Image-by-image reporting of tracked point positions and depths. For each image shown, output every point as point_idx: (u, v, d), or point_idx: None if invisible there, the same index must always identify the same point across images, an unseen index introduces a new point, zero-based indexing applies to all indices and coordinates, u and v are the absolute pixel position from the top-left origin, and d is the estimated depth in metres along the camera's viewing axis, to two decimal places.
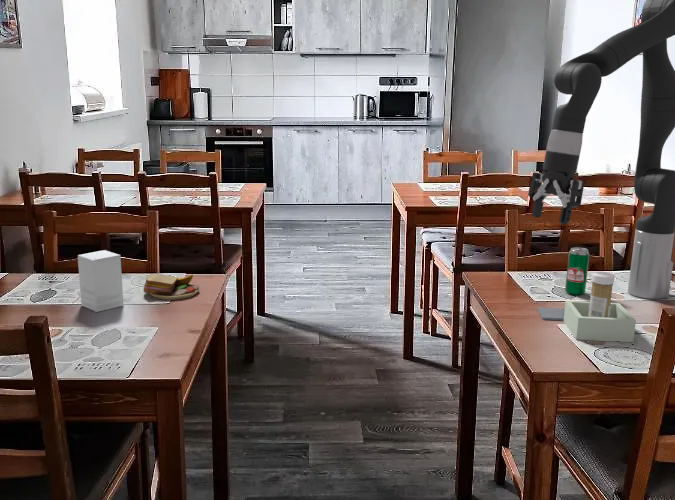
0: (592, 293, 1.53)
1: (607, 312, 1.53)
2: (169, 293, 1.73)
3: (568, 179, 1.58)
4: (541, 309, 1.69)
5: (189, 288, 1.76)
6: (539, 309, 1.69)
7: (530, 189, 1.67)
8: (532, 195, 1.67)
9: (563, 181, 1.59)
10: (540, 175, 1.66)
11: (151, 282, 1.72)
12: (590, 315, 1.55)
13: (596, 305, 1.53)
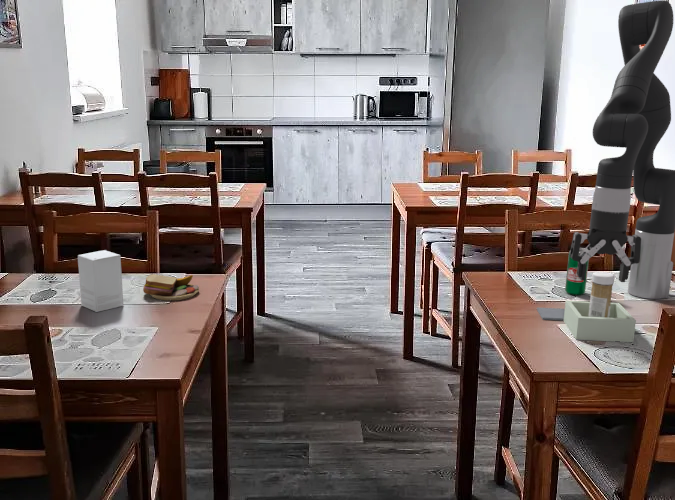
0: (592, 293, 1.53)
1: (607, 312, 1.53)
2: (169, 294, 1.73)
3: (627, 236, 1.50)
4: (541, 309, 1.69)
5: (189, 288, 1.76)
6: (539, 309, 1.69)
7: (575, 252, 1.51)
8: None
9: (622, 239, 1.50)
10: (583, 235, 1.51)
11: (151, 283, 1.72)
12: (590, 315, 1.55)
13: (596, 305, 1.53)
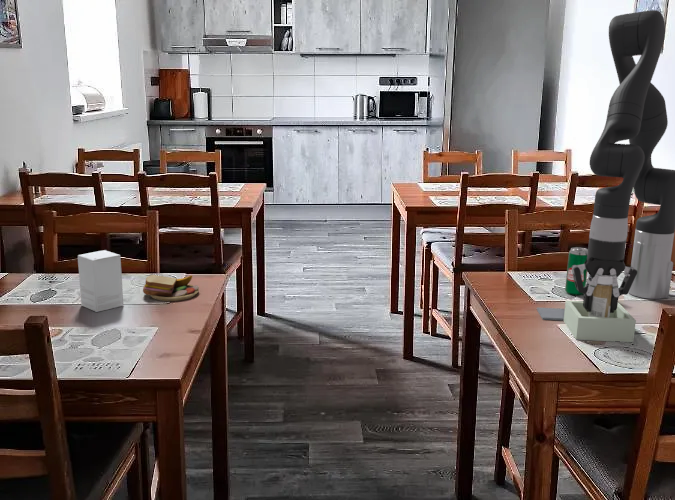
0: (592, 293, 1.53)
1: (607, 312, 1.53)
2: (169, 294, 1.72)
3: (625, 266, 1.51)
4: (541, 309, 1.69)
5: (189, 289, 1.76)
6: (539, 309, 1.69)
7: (579, 285, 1.53)
8: None
9: (619, 267, 1.51)
10: (581, 267, 1.52)
11: (151, 283, 1.71)
12: (590, 315, 1.55)
13: (596, 305, 1.53)
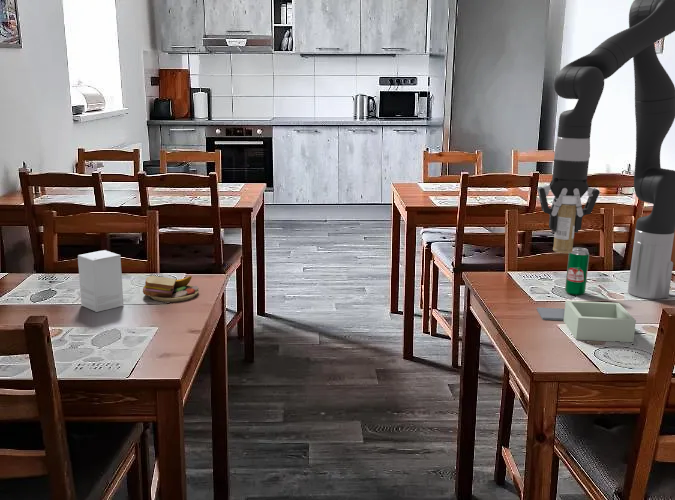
0: (557, 214, 1.60)
1: (571, 231, 1.60)
2: (170, 295, 1.72)
3: None
4: (541, 309, 1.69)
5: (189, 289, 1.75)
6: (539, 309, 1.69)
7: (544, 205, 1.59)
8: (548, 211, 1.60)
9: (582, 187, 1.58)
10: (546, 188, 1.59)
11: (151, 284, 1.71)
12: (555, 235, 1.61)
13: (561, 225, 1.59)
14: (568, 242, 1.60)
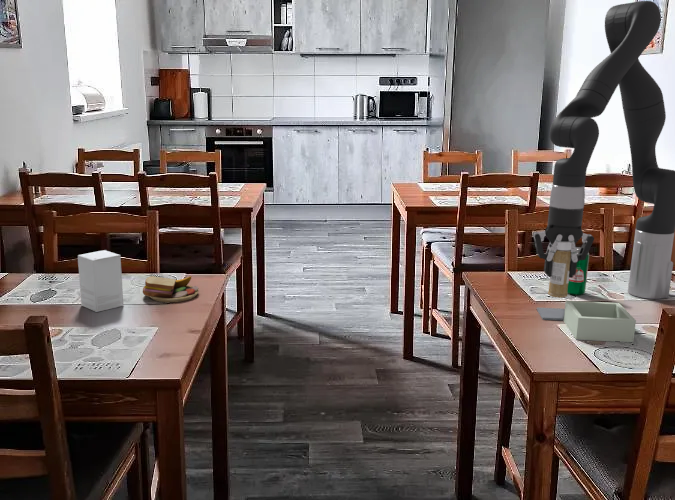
0: (552, 259, 1.63)
1: (566, 277, 1.62)
2: (170, 295, 1.71)
3: (582, 233, 1.60)
4: (541, 309, 1.69)
5: (189, 290, 1.75)
6: (539, 309, 1.69)
7: (539, 251, 1.62)
8: (543, 256, 1.62)
9: (577, 234, 1.60)
10: (541, 234, 1.62)
11: (151, 285, 1.70)
12: (550, 280, 1.64)
13: (556, 270, 1.62)
14: (562, 287, 1.62)
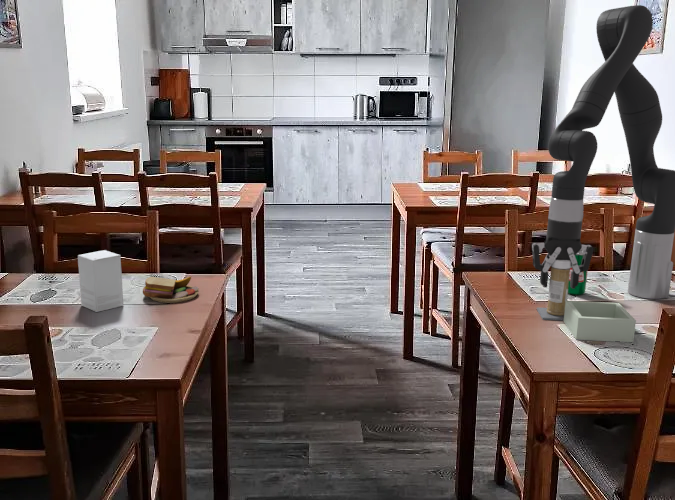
0: (551, 277, 1.64)
1: (565, 295, 1.63)
2: (170, 296, 1.71)
3: (581, 244, 1.61)
4: (541, 309, 1.69)
5: (189, 290, 1.75)
6: (539, 309, 1.69)
7: (536, 262, 1.62)
8: (539, 267, 1.63)
9: (576, 246, 1.61)
10: (540, 245, 1.62)
11: (151, 285, 1.70)
12: (549, 298, 1.65)
13: (554, 288, 1.63)
14: (561, 305, 1.64)
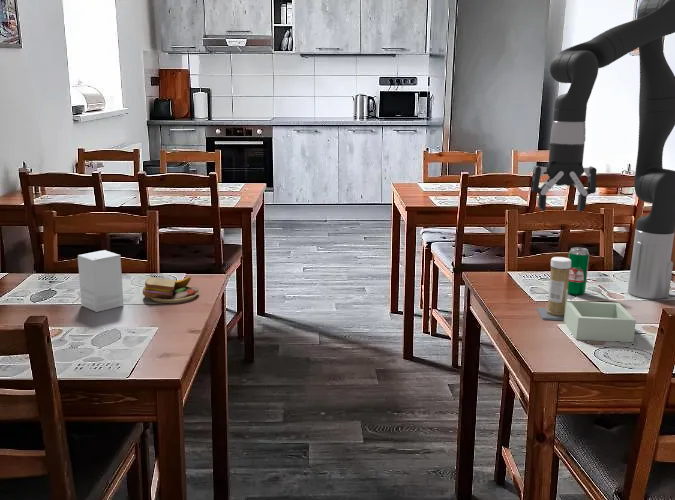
0: (551, 277, 1.64)
1: (565, 295, 1.63)
2: (170, 296, 1.71)
3: (583, 168, 1.60)
4: (541, 309, 1.69)
5: (189, 290, 1.74)
6: (539, 309, 1.69)
7: (535, 184, 1.61)
8: (537, 190, 1.62)
9: (578, 171, 1.60)
10: (543, 168, 1.61)
11: (152, 286, 1.69)
12: (549, 298, 1.65)
13: (554, 288, 1.63)
14: (561, 305, 1.64)
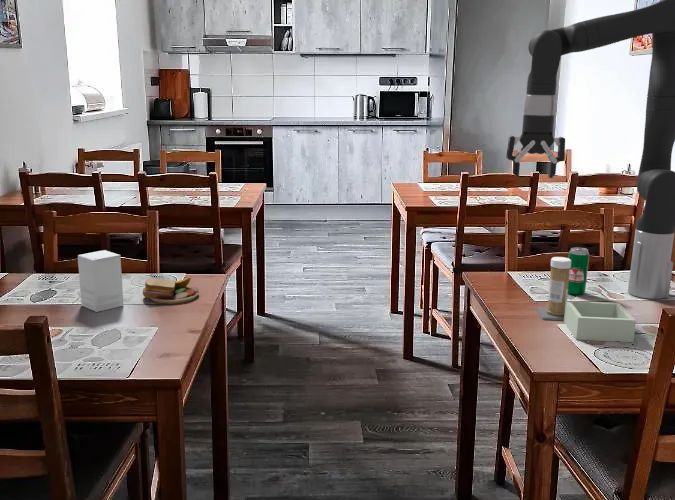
0: (551, 277, 1.64)
1: (565, 295, 1.63)
2: (171, 297, 1.70)
3: (553, 138, 1.76)
4: (541, 309, 1.69)
5: (189, 291, 1.74)
6: (539, 309, 1.69)
7: (509, 152, 1.78)
8: (512, 157, 1.78)
9: (549, 140, 1.76)
10: (516, 138, 1.77)
11: (152, 286, 1.69)
12: (549, 298, 1.65)
13: (554, 288, 1.63)
14: (561, 305, 1.64)
